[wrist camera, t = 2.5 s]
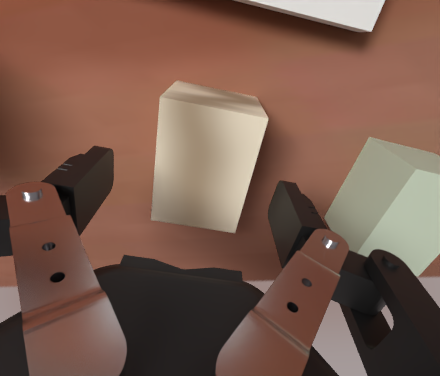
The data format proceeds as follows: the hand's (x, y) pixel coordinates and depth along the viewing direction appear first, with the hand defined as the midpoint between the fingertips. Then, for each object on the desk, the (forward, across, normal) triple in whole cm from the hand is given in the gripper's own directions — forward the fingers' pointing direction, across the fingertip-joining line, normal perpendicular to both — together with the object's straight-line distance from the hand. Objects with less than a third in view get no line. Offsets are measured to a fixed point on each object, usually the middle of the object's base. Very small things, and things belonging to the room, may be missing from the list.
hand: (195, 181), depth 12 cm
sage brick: (+6, -13, +1) cm, 15 cm away
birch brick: (+6, 0, 0) cm, 6 cm away
